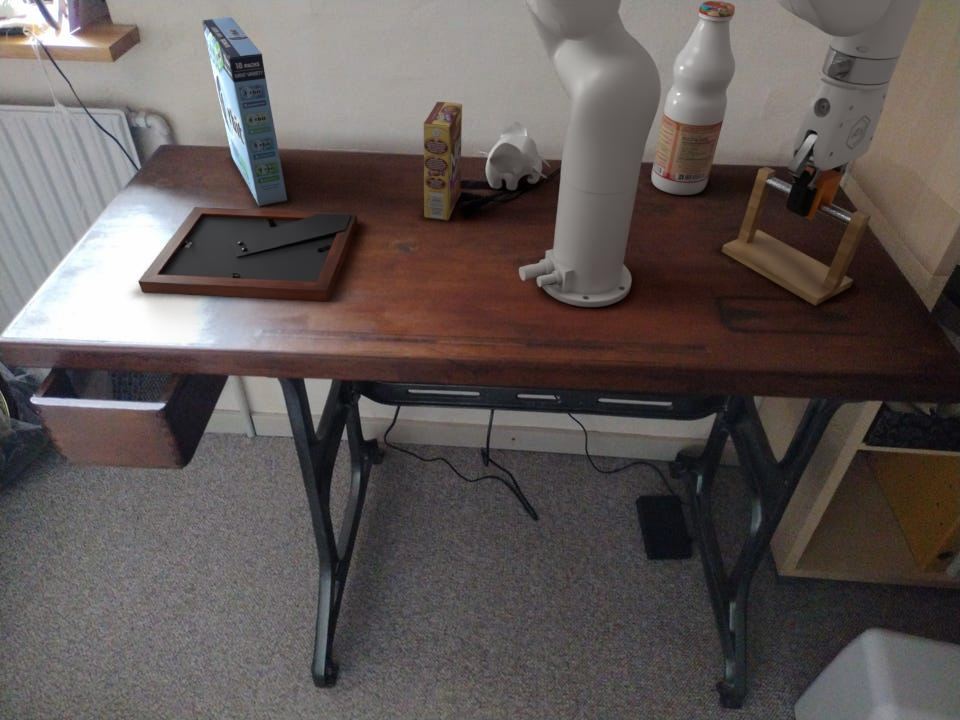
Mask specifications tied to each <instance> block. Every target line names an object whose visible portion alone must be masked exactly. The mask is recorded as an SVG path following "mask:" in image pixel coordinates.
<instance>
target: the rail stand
mask: <svg viewBox="0 0 960 720" xmlns="http://www.w3.org/2000/svg"><path fill="white" fill-rule="evenodd" d="M775 174H776V170H775V169H773V168H770V167H768V166H764V167H762V168H759V169H758V171H757V175H756V178H755V182H754V184H753V188H752V191H751V195H750V197H749V201H748V204H747V207H746V212H745V214H744V216H743V221H742V225H741V227H740V230H739V234H738V237H737V238H736V239H733V240H731V241H729V242H727V243H724V244H723V246H722V248H721V252H722V253H724V254H725V255H727V256H729V257H730V258H732V259H734V260H736V261H737V262H739V263H741V264H742V265H744V266H746V267H747V268H749V269H751V270H753V271H755V272H756V273H758V274H759V275H762V276H763V277H765V278H766V279H768V280H770V281H771V282H773V283H775V284H777V285H778V286H780V287H783V289H785V290H787V291H789V292H791V293H792V294H794V295H796V296H798V297H799V298H801V299H803V300H804V301H806V302H808V303H810V304H811V305H813V306H818V305H819V304H821V303H823V302H825V301H827V300H829V299H831V298H832V297H834V296H836V295H839V294H840V293H842V292H844V291H845V290H847V289H849V288H851V287H852V284H853V282H854V279H853V278H850V277H849V276H847V275H846V274H847V271H848V270H849V267H850V265H851V262H852V260H853V259H854V256H855V254H856V251H857V249H858V247H859V244H860V242H861V240H862V237H863V236H864V233H865V231H866V229H867V227H868V224H869V221H870V220H871V217H872V214H871V213H869V212H867V211H864V210H862V209H859V210H857V211H854V212H850V211H848V210H846V209H844V208H842V207H840V206H838V205H835V204H834V203H832V204H831V203H829V202H827V201H825V200H822V199H821V200H820V202H819V205H818V208H817V210H816V213H818V214H821V215H823V216H825V217H828V218H830V219H832V220H834V221H836V222H838V223H840V224H842V225H844V226H846V229H845V231H844V234H843V236H842V238H841V241H840V243H839V245H838V247H837V251H836V252H835V255H834V257H833V260H832V261H831V264H830V266H828V265H826V264H824V263H822V262H821V261H818V260H817V259H815V258H813V257H811V256H809V255H807V254H805V253H803V252H801V251H800V250H798V249H797V248H795V247H792V246H791V245H788V244H786V243H785V242H783V241H781V240H779V239H778V238H775V237H773V236H772V235H769V234H768V233H766V232H765V231H762V230H760V229H758V227H759V224H760V220H761V217H762V215H763V212H764V208H765V205H766V202H767V199H768V196H769V193H770V190H771V191H773V192H775V193H777V194H780V195H782V196H784V197H786V198H788V197H789V194H790V191H791V188H792V185H793V184H790V183H788V182H786V181H784V180H781V179H779V178H777V177H775Z"/></svg>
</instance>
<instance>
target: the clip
mask: <svg viewBox="0 0 960 720" xmlns="http://www.w3.org/2000/svg"><path fill="white" fill-rule="evenodd" d="M806 170H807V171H809V172H810V175H811V176H812V174H813V171H814V169H813V168H811V167H809V166H807V167H806ZM842 176H843V177H844V175H843V174H841V173H839V172H837V171H834V170H832V169H830V170H827V171H822V174H821V176H820V178H819V180H818V182H817V184H816V186H815V188H817V189H818V190H817V193H816V196H815V198H814V201H813V204H812V206H811V209H810V212H809V215H808V216H806V217H803V218H804V219H806V220H808V221H812V220H814V219H815V216H816V213H817V211H816V210H817V208H818V205H819V202H820V200H821V199H822V200H825V201H827V202H829V203H831V204H833V201H834V199H835V197H836V195H837V191H838V188H839V186H840V184H841V181H842V179H843V177H842ZM784 209H786V207H785V206H784ZM786 210H787V211H789V210H788V209H786Z"/></svg>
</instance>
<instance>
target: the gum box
mask: <svg viewBox="0 0 960 720" xmlns="http://www.w3.org/2000/svg"><path fill="white" fill-rule="evenodd" d="M201 23H202V28H203V32H204V38H205V41H206V47H207V51H208V55H209V59H210V64H211V68H212V73H213V78H214V82H215V87H216V91H217V95H218V100H219V104H220V109H221V113H222V118H223V123H224V127H225V131H226V136H227V140H228V144H229V149H230V153H231V154H230V155H231V157H232V159H233V161H234V164H235V165H236V167H237V169H238V171H239V172H240V174H241V175H242V178H243V180H244V181H245V183H246V184H247V187H248V188H249V190H250V192H251V194H252V196H253V198H254V199H255V202H256V203H257V206H259V207H263V206H268V205H269V206H270V205H273V204H278V203H283V202H287V201H288V197H287V191H286V186H285V180H284V174H283V168H282V163H281V157H280V152H279V146H278V140H277V134H276V128H275V123H274V118H273V111H272V106H271V100H270V95H269V89H268V83H267V77H266V70H265V66H264V59H263V53H262V52H261V51H260V49H259V48H258V47H257V46H256V45H255V44H254V42H253V41H252V40H251V38H249V36H248V35H247V34H246V33H245V32H244V30H243V29H242V28H241V27H240V26H239V24H238V23H237V22H236V20H234V19H233V17H231V16H229V17H218V18H211V19H203V20H201Z"/></svg>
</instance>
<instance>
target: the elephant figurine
mask: <svg viewBox="0 0 960 720" xmlns="http://www.w3.org/2000/svg"><path fill="white" fill-rule="evenodd" d="M479 154H481V155H482V156H484V157H485V158H487V160H486V164H485V176H486V179H487V182H488V184H489V187H491V188H492V189H495V190H499V189H501V188H502V187H503V180H504V181H505V187H506V189H507V190H509V191H515V190H517V188H518V187H519V186H518V185H519V181H520V180H521V178H523V177H524V176H526V175H528V177H527V179H526V181H527V183H528V184H533V185H534V184H536V183H537V182H539V180H540V178H541V177H542V178H544V179H548V177H547V176H546V175H545V174H543V173H542V171H543V164H545V165H546V166H547V167H549V168H551V169H552V167H551V165H550V164H549V162H548V161H547V160H546V159H545V158H543V156H541V155H540V154H539V152H538V150H537V145H536V142H535V140H534V139H533V138H532V137H530V136H529V133H528V130H527V128H526V126H525V125H524V124H522V123H520V122H519V121H512V122H510V123H508V124H507V125H506V126H505V127H504V128H503V130H502V132H501V134H500V136H499V139H498V142H496V144H494V145H493V147H492V148H491V149H490V151H489V152H487V151H481V150H479ZM548 180H549V179H548Z"/></svg>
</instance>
